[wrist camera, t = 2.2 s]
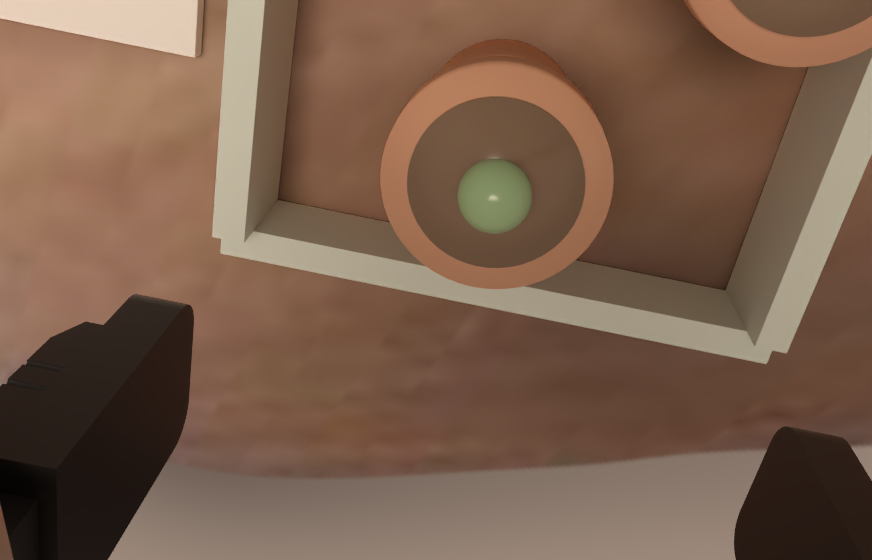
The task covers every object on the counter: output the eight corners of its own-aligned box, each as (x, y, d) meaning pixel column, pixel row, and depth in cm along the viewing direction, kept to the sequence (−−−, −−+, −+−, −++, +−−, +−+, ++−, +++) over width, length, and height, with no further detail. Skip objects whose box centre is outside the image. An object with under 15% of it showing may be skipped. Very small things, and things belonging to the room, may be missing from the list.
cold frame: (960, -234, 22) (2129, -565, 6) (743, 320, 30) (1013, 832, 13) (299, -366, 22) (-274, -1041, 6) (247, 220, 30) (-74, 610, 14)
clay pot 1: (611, 42, 26) (654, 111, 18) (565, 213, 28) (585, 341, 20) (429, 6, 26) (389, 57, 18) (399, 179, 28) (353, 295, 20)
